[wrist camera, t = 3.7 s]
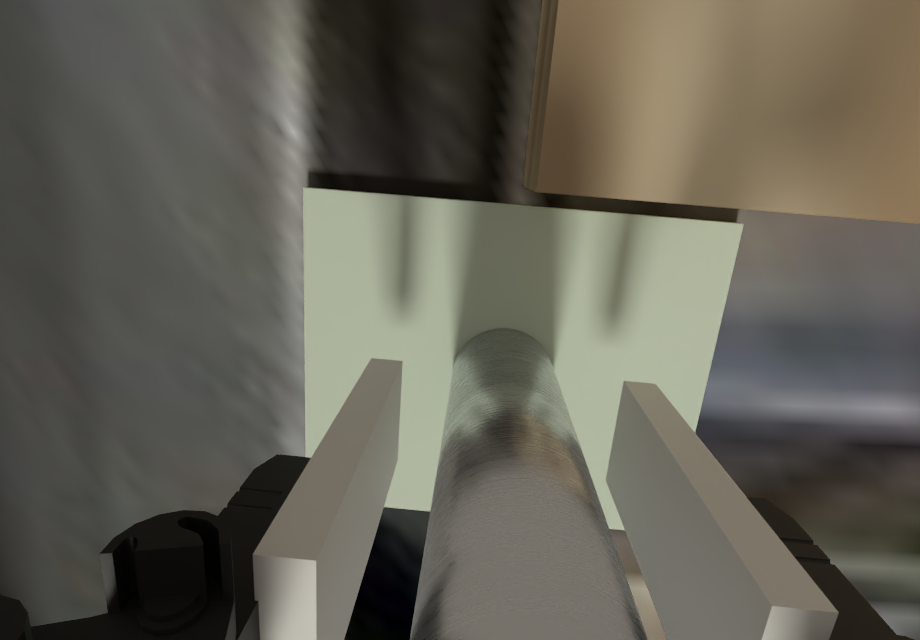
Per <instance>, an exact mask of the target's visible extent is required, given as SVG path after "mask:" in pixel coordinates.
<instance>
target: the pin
mask: <svg viewBox="0 0 920 640" xmlns="http://www.w3.org/2000/svg"><path fill="white" fill-rule="evenodd" d="M410 640H648V639H647V636H646V633H645V630H644V628H643V625H642V622H641V619H640V616H639V613H638V610H637V607H636V605H635V602H634V599H633V596H632V593H631V590H630V587H629V584H628V581H627V579H626V576H625V573H624V570H623V567H622V564H621V561H620V558H619V556H618V553H617V550H616V547H615V544H614V541H613V538H612V535H611V532H610V530H609V527H608V524H607V521H606V518H605V515H604V512H603V509H602V507H601V504H600V501H599V498H598V495H597V492H596V489H595V486H594V483H593V481H592V478H591V475H590V472H589V469H588V466H587V463H586V460H585V458H584V455H583V452H582V449H581V446H580V443H579V440H578V437H577V434H576V432H575V429H574V426H573V423H572V420H571V417H570V414H569V411H568V408H567V406H566V403H565V400H564V397H563V394H562V391H561V388H560V385H559V383H558V380H557V377H556V374H555V371H554V368H553V365H552V362H551V360H550V357H549V355H548V353H547V351H546V350H545V348H544V347H543V346H542V345H541V344H540V343H539V342H538V341H537V340H536V339H535V338H534V337H532V336H530V335H529V334H527V333H525V332H522V331H520V330H516V329H511V328H495V329H490V330H487V331H484V332H481V333H479V334H477V335H476V336H474V337H473V338H471V339H470V340H469V341H468V342H467V343H466V344H465V345H464V346H463V347H462V348H461V350H460V351H459V353H458V355H457V357H456V359H455V363H454V367H453V373H452V379H451V386H450V392H449V398H448V404H447V411H446V417H445V423H444V429H443V436H442V442H441V448H440V454H439V461H438V467H437V473H436V479H435V486H434V492H433V498H432V504H431V511H430V517H429V523H428V529H427V536H426V542H425V548H424V554H423V561H422V567H421V573H420V579H419V586H418V592H417V598H416V604H415V611H414V617H413V623H412V629H411V636H410Z"/></svg>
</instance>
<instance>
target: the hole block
mask: <svg viewBox="0 0 920 640" xmlns="http://www.w3.org/2000/svg"><path fill="white" fill-rule="evenodd" d="M522 186H523V187H525V188H527V189H530V190H532V191H535V192H540V193H552V194H564V195H576V196H589V197H601V198H613V199H625V200H637V201H650V202H662V203H674V204H686V205H698V206H711V207H723V208H735V209H747V210H759V211H772V212H784V213H796V214H808V215H820V216H833V217H845V218H857V219H869V220H881V221H894V222H906V223H918V224H920V0H543V1H542V10H541V19H540V28H539V38H538V47H537V56H536V65H535V74H534V83H533V93H532V102H531V111H530V120H529V129H528V139H527V148H526V157H525V166H524V175H523V185H522Z"/></svg>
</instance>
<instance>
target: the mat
mask: <svg viewBox="0 0 920 640" xmlns="http://www.w3.org/2000/svg"><path fill="white" fill-rule="evenodd" d="M303 225H304V335H305V444H306V457H309V458H311V457H312V455H313V454H314V452H315V450H316V449H317V447H318V446H319V444H320V442H321V441H322V439H323V437H324V436H325V434H326V432H327V431H328V429H329V427H330V426H331V424H332V422H333V421H334V419H335V417H336V416H337V414H338V412H339V411H340V409H341V407H342V406H343V404H344V403H345V401H346V399H347V398H348V396H349V394H350V393H351V391H352V389H353V388H354V386H355V384H356V383H357V381H358V379H359V378H360V376H361V374H362V373H363V371H364V369H365V368H366V366H367V365H368V363H369V361H370V360H371V358H375V359H386V360H398V361H403V363H402V383H401V403H400V424H399V444H398V461H397V464H396V468H395V471H394V474H393V478H392V481H391V484H390V488H389V491H388V494H387V498H386V501H385V504H384V507H390V508H400V509H411V510H421V511H431V504H432V498H433V492H434V486H435V479H436V473H437V467H438V461H439V454H440V448H441V442H442V436H443V429H444V423H445V417H446V411H447V404H448V398H449V392H450V386H451V379H452V373H453V367H454V363H455V359H456V357H457V355H458V353H459V351H460V350H461V348H462V347H463V346H464V345H465V344H466V343H467V342H468V341H469V340H470V339H471V338H473V337H474V336H476V335H477V334H479V333H481V332H484V331H487V330H490V329H495V328H511V329H516V330H520V331H522V332H525V333H527V334H529V335H530V336H532V337H534V338H535V339H536V340H537V341H538V342H539V343H540V344H541V345H542V346H543V347H544V348H545V350H546V351H547V353H548V355H549V357H550V360H551V362H552V365H553V368H554V371H555V374H556V377H557V380H558V383H559V385H560V388H561V391H562V394H563V397H564V400H565V403H566V406H567V408H568V411H569V414H570V417H571V420H572V423H573V426H574V429H575V432H576V434H577V437H578V440H579V443H580V446H581V449H582V452H583V455H584V458H585V460H586V463H587V466H588V469H589V472H590V475H591V478H592V481H593V483H594V486H595V489H596V492H597V495H598V498H599V501H600V504H601V507H602V509H603V512H604V515H605V518H606V521H607V524H608V527H609V529H617V530H625V529H624V526H623V524H622V521H621V519H620V516H619V513H618V511H617V508H616V506H615V503H614V501H613V498H612V495H611V493H610V490H609V488H608V485H607V483H606V475H607V469H608V464H609V458H610V453H611V447H612V442H613V436H614V431H615V426H616V420H617V415H618V409H619V404H620V398H621V393H622V387H623V382H624V381H631V382H642V383H653V384H656V385H657V386H658V387H659V389H660V390H661V391H662V392H663V394H664V395H665V396H666V397H667V399H668V400H669V401H670V402H671V404H672V405H673V406H674V407H675V409H676V410H677V411H678V412H679V414H680V415H681V416H682V417H683V419H684V420H685V421H686V422H687V424H688V425H689V426H690V427H691V429H692V430H693V431H694V432H695V431H696V427H697V423H698V418H699V414H700V410H701V405H702V401H703V397H704V393H705V388H706V384H707V380H708V375H709V371H710V367H711V363H712V358H713V354H714V350H715V345H716V341H717V337H718V332H719V328H720V324H721V320H722V315H723V311H724V307H725V302H726V298H727V294H728V289H729V285H730V281H731V277H732V272H733V268H734V264H735V259H736V255H737V251H738V247H739V242H740V238H741V234H742V229H743V225H744V224H741V223H736V222H723V221H711V220H699V219H687V218H675V217H663V216H651V215H639V214H627V213H614V212H602V211H590V210H578V209H566V208H554V207H542V206H530V205H518V204H505V203H493V202H481V201H469V200H457V199H445V198H433V197H421V196H409V195H396V194H384V193H372V192H360V191H348V190H336V189H324V188H312V187H305V188H303Z"/></svg>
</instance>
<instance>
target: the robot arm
mask: <svg viewBox="0 0 920 640" xmlns="http://www.w3.org/2000/svg"><path fill="white" fill-rule="evenodd" d="M402 363H403V361H398V360H386V359H375V358H371V360H370V361H369V363H368V365H367V366H366V368H365V369H364V371H363V373H362V374H361V376H360V378H359V379H358V381H357V383H356V384H355V386H354V388H353V389H352V391H351V393H350V394H349V396H348V398H347V399H346V401H345V403H344V404H343V406H342V407H341V409H340V411H339V412H338V414H337V416H336V417H335V419H334V421H333V422H332V424H331V426H330V427H329V429H328V431H327V432H326V434H325V436H324V437H323V439H322V441H321V442H320V444H319V446H318V447H317V449H316V450H315V452H314V454H313V455H312V457H311V458H309V457H298V456H288V455H276V456H274V457H273V458H271V459H269V460H268V461H266V462H265V463H263V464H261V465H260V466H258V467H257V468H255V469H254V470H253V471H252V473H251V474H250V475H249V477H248V478H247V479H246V480H245V482H244V483H243V484H242V486H241V487H240V490H239V492H238V491H237V492H236V493H235V495H234V496H233V497H232V499H231V500H230V501H229V502H228V505H227V508H224V509H223V510H222V512H221V513H220V514H219V515H218V516H216V515H213V514H211V513H208V512H205V511H188V510H183V511H177V512H171V513H166V514H160V515H157V516H155V517H152V518H149V519H147V520H144V521H142V522H139V523H136V524H135V525H133V526H131V527H130V528H128V529H127V530H125V531H124V532H122V533H121V534H119V535H117V536H116V537H114V538H113V539H112V541H111V542H110V543H109V544H108V545H107V546H106V547H105V548H104V549H103V551H102V552H101V553H100V554H99V555H100V562H101V569H102V575H103V582H104V589H105V596H106V602H107V609H108V613H106V614H102V615H98V616H94V617H89V618H83V619H77V620H71V621H64V622H58V623H52V624H46V625H40V626H34V627H30V622H29V617H28V612H27V611H26V609H25V608H24V607H23V605H22V604H21V602H20V601H19V600H15V599H12V598H8V597H5V596H1V595H0V640H344V637H345V634H346V631H347V628H348V624H349V621H350V618H351V614H352V611H353V608H354V604H355V601H356V598H357V594H358V591H359V588H360V584H361V581H362V578H363V574H364V571H365V568H366V564H367V561H368V558H369V554H370V551H371V548H372V544H373V541H374V538H375V534H376V531H377V528H378V524H379V521H380V518H381V514H382V511H383V508H384V504H385V501H386V498H387V494H388V491H389V488H390V484H391V481H392V478H393V474H394V471H395V468H396V464H397V461H398V444H399V424H400V403H401V383H402ZM606 483H607V485H608V488H609V490H610V493H611V495H612V498H613V501H614V503H615V506H616V508H617V511H618V513H619V516H620V519H621V521H622V524H623V526H624V529H625V531H626V534H627V536H628V539H629V542H630V544H631V547H632V549H633V552H634V554H635V557H636V560H637V562H638V565H639V567H640V570H641V572H642V575H643V578H644V580H645V583H646V585H647V588H648V590H649V593H650V596H651V598H652V601H653V603H654V606H655V608H656V611H657V613H658V616H659V619H660V621H661V624H662V626H663V629H664V631H665V634H666V637H667V639H668V640H914V639H911V638H908V637H906V636H900V635H896V634H895V632H894V631H893V630H892V629H891V628H890V627H889V626H888V625H887V623H886V622H885V621H884V620H883V619H882V618H881V617H880V616H879V614H878V613H877V612H876V611H875V610H874V609H873V608H872V607H871V605H870V604H869V603H868V602H867V601H866V600H865V599H864V598H863V596H862V595H861V594H860V593H859V592H858V591H857V590H856V588H855V587H854V586H853V585H852V584H851V583H850V582H849V581H848V579H847V578H846V577H845V576H844V575H843V574H842V573H841V572H840V570H839V569H838V568H837V567H836V566H835V565H832V564H830V559H829V558H828V557H827V556H826V555H825V554H824V552H823V551H822V550H821V549H820V548H819V547H818V546H817V545H814V544H813V540H812V539H811V538H810V537H809V535H808V534H807V533H806V532H805V531H804V530H803V529H802V528H801V526H800V525H799V524H798V523H797V522H796V521H795V520H794V519H793V518H792V517H791V516H789V515H788V514H786V513H785V512H784V511H782V510H781V509H779V508H778V507H776V506H775V505H774V504H772V503H771V502H769V501H768V500H766V499H763V498H752V497H746V496H745V495H744V494H743V492H742V491H741V490H740V489H739V487H738V486H737V485H736V484H735V482H734V481H733V480H732V479H731V477H730V476H729V475H728V474H727V472H726V471H725V470H724V469H723V467H722V466H721V465H720V464H719V462H718V461H717V460H716V459H715V457H714V456H713V455H712V454H711V452H710V451H709V450H708V449H707V447H706V446H705V445H704V444H703V442H702V441H701V440H700V439H699V437H698V436H697V435H696V434H695V432H694V431H693V430H692V429H691V427H690V426H689V425H688V424H687V422H686V421H685V420H684V419H683V417H682V416H681V415H680V414H679V412H678V411H677V410H676V409H675V407H674V406H673V405H672V404H671V402H670V401H669V400H668V399H667V397H666V396H665V395H664V394H663V392H662V391H661V390H660V389H659V387H658V386H657V385H656V384H653V383H642V382H631V381H624V382H623V387H622V393H621V398H620V404H619V409H618V415H617V420H616V426H615V431H614V436H613V442H612V447H611V453H610V458H609V464H608V469H607V475H606Z"/></svg>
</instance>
